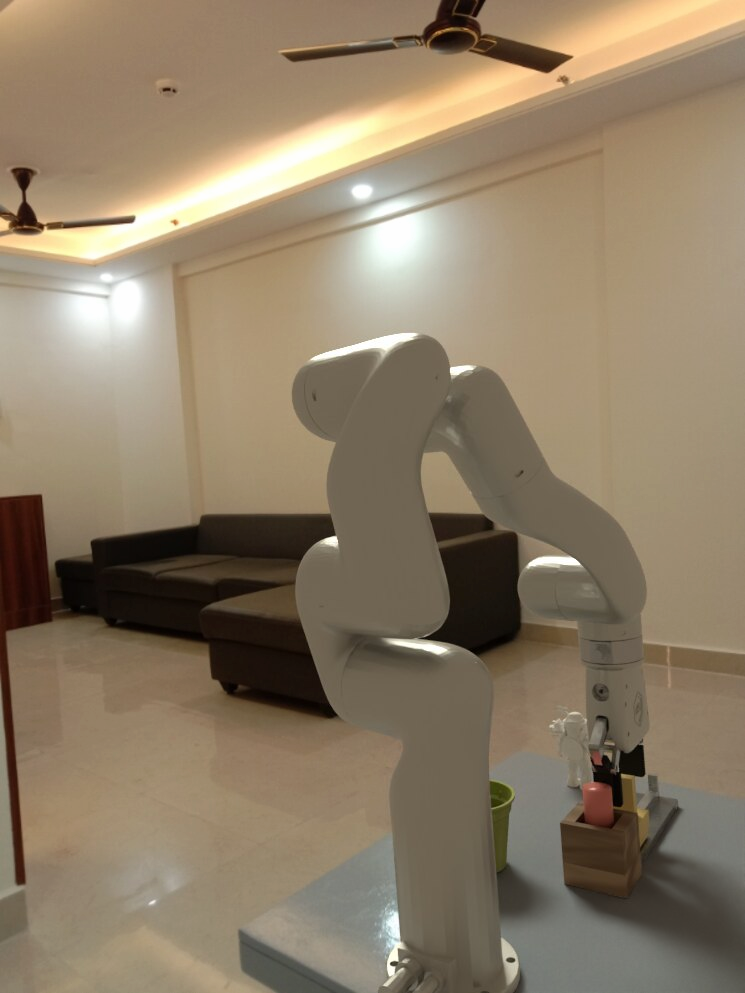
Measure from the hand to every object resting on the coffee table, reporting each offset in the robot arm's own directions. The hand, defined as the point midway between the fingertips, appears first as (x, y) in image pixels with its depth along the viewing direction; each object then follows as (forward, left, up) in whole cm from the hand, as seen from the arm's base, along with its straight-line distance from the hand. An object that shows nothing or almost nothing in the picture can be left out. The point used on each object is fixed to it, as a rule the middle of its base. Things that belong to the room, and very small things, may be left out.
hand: (621, 789), depth 97 cm
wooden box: (-8, 0, -7) cm, 11 cm away
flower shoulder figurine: (+16, +11, -8) cm, 21 cm away
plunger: (-8, 0, -2) cm, 8 cm away
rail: (+5, 0, -7) cm, 9 cm away
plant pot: (-11, +14, -8) cm, 19 cm away
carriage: (0, 0, -6) cm, 6 cm away
